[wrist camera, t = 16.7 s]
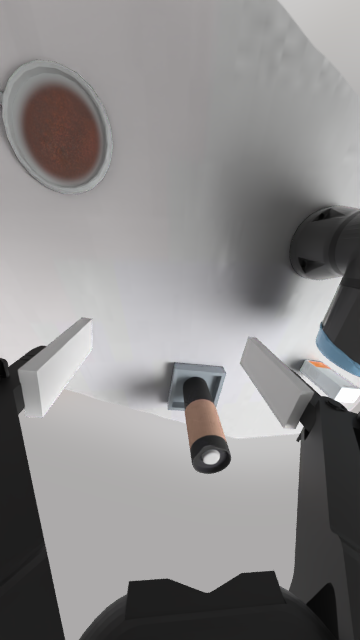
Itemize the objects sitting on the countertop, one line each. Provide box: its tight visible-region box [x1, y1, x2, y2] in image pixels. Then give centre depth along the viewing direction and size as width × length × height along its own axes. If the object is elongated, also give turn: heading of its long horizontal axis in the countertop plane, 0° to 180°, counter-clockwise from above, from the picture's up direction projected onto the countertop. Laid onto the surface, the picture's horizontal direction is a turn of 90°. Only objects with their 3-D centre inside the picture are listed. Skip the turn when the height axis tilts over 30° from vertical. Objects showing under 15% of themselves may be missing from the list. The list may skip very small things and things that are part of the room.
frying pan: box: [0, 60, 113, 194], centre depth 29 cm, size 17×3×28 cm
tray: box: [168, 363, 226, 411], centre depth 52 cm, size 14×14×3 cm
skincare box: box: [300, 360, 360, 403], centre depth 49 cm, size 6×4×12 cm
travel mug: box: [183, 377, 231, 474], centre depth 43 cm, size 8×8×20 cm
